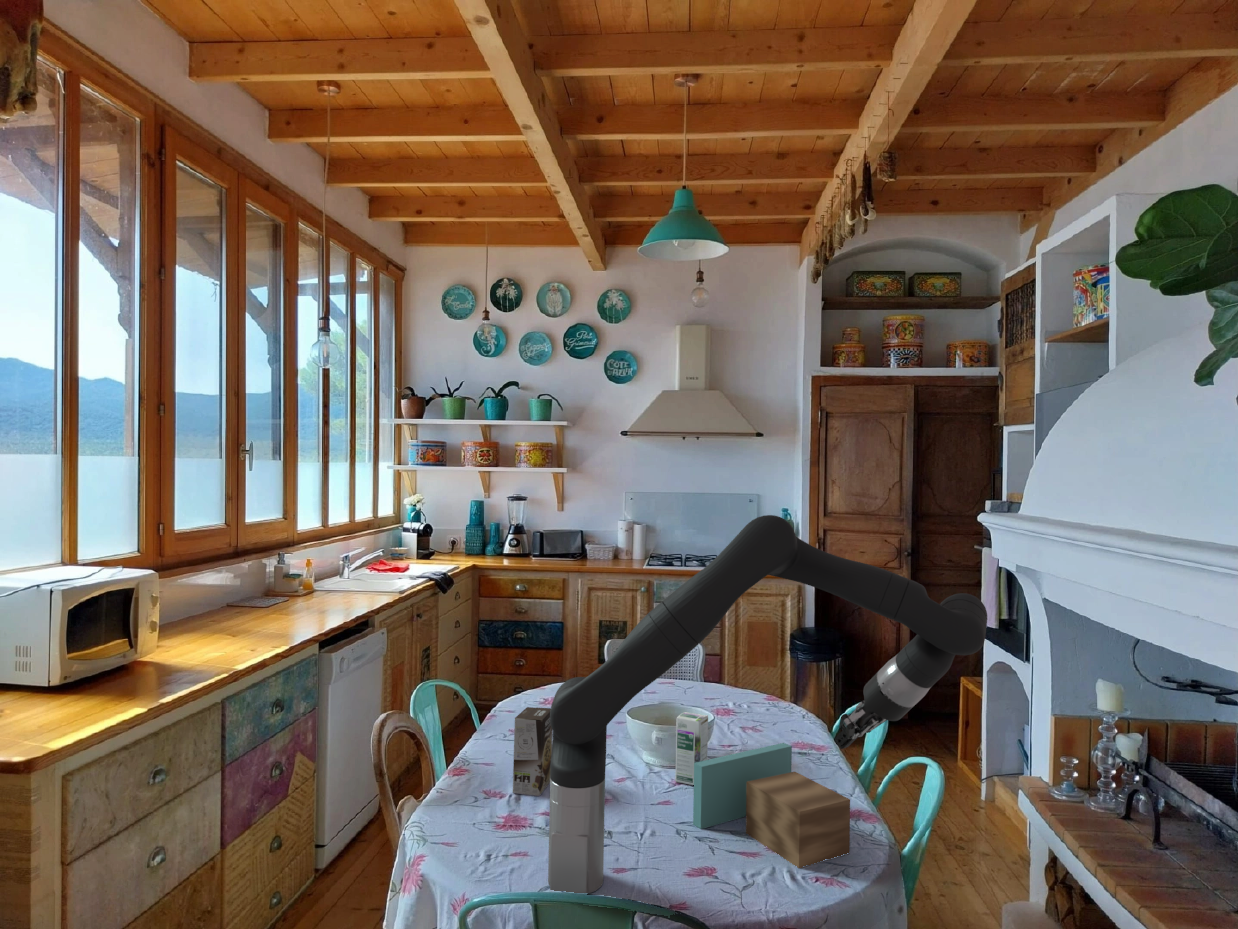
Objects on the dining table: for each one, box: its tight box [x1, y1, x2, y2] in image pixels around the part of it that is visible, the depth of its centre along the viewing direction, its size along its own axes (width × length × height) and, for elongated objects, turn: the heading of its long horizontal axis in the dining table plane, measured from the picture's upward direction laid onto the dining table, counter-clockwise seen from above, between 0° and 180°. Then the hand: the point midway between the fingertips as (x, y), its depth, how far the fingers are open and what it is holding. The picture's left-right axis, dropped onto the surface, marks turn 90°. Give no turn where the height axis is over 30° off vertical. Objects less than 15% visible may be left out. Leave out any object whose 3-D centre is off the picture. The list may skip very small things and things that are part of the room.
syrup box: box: [674, 711, 709, 786], centre depth 175 cm, size 6×6×14 cm
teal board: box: [692, 742, 793, 830], centre depth 158 cm, size 2×24×12 cm, turn 122°
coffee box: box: [512, 706, 553, 797], centre depth 169 cm, size 9×6×16 cm
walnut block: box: [745, 771, 851, 869], centre depth 145 cm, size 15×12×10 cm
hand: (840, 743), depth 138 cm, fingers closed
